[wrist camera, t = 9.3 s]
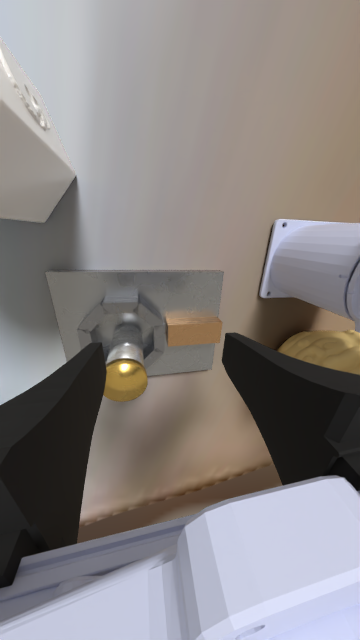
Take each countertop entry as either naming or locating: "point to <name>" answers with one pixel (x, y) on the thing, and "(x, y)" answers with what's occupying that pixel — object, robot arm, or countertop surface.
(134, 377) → the gold-capped vial
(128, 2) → the countertop surface
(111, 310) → the rosette plate
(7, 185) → the jar
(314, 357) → the sculpture
